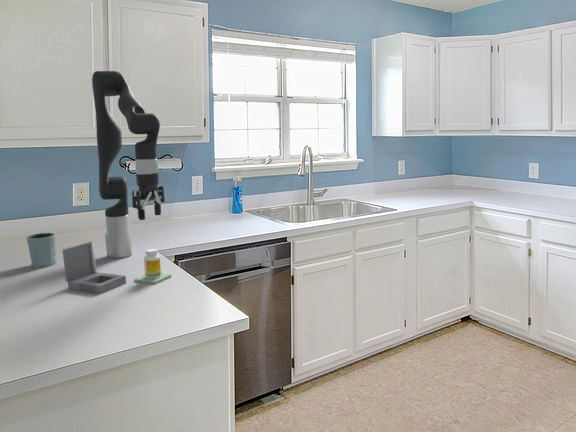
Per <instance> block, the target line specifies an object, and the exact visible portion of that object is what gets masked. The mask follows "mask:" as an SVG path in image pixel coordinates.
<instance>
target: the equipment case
mask: <svg viewBox="0 0 576 432" xmlns="http://www.w3.org/2000/svg"><path fill="white" fill-rule="evenodd" d="M95 255H96V254H95V244H94V243H93V242H92V241H88V242H85V243H81V244H78V245H77V244H76V245H74V246H71V247H68V248H67V247H66V248H64V249H62V256H63V259H62V260H63V267H64V275H65V277H64V278H65V282H67V287H68V290H73V291H78V292H79V291H80V292H87V293H92V294H93V293H94V294H99V295H101V294H104V293H105V292H108V291H111V290H113V289H115V288H117V287H119V286H122V285H125V284H127V278H126V277H127V276H126V275H121V274H113V273H105V272H99V271H98V272H97V266H96V256H95Z"/></svg>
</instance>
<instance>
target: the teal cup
mask: <svg viewBox="0 0 576 432" xmlns="http://www.w3.org/2000/svg"><path fill="white" fill-rule="evenodd" d="M26 242H27V247H28V251H29V255H30V261H31V266H32V268H35V267H36V269H37V268H40V267H42V268H49V267H53V266H54V265H56V263H57V255H56V254H57V253H56V234H55V233H54V232H39V233H33V234H30V235H27V236H26ZM52 265H53V266H52ZM48 266H49V267H48Z"/></svg>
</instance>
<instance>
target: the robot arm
mask: <svg viewBox="0 0 576 432" xmlns="http://www.w3.org/2000/svg"><path fill="white" fill-rule="evenodd" d="M91 83H92V84H91V85H92V87H91V88H92V92H93V100H94V107H95V109H94V110H95V123H96V124H95V126H96V128H95V129H96V145H97V146H96V147H97V156H98V192H99V197H100V198H101V199H102V200H106V201H107V200H108V201H109V200H118V201H117V202H116V203H115V204H114V205H111V206H109V207H107V208H106V209H105V210H104V215H105V225H106V228H105V229H106V233H105V234H104V235H105V237H104V238H105V245H106V246H105V247H106V248H105V249H106V256H107V257H109V258H114V259H119V258H120V259H121V258H127V257H130V256H131V255H133V254H132V252H133V250H132V236H131V227H130V226H131V225H130V215H129V200H128V199H129V198H128V181H127V179H126V178H125V176H123V175H121V176H109V172H110V169H111V166H112V164H113V163H114V161H115V160H116V159H117V156H118V155H119V153H120V152H121V150H122V147H123V141H122V139H123V137H122V136H123V135H122V129H121V127H120V125H119V123H118V122H117V121H116V119H115V118H114V117H113V116H112V114H111V112H110V111H109V109H108V106H107V103H106V97H116V96H117V97H119V98H118V99H117V107H118V109H119V112H120V113H121V114H122V115H123V117H124V118H125V120H126V124H127V128H128V130H129V132H130V133H132V134H133V135H146V138H144V139H143V140H140V141H138V142H135V145H134V153H135V176H136V177H135V178H136V186H138V190H132V191H131V194H132V195H131V196H132V199H131V200H132V208H133V209H137V215H138V216H137V218H138V219H139V221H145V220H146V210H145V207H146V205H147V204H148V202H150V201H152V202H153V204H154V205H153V207H154V215H155V216H161V215H162V207H161V206H162V204H163V203H165V201H166V199H165V190H164V189H165V188H164V186H163V185H160V178H159V164H158V160H157V143H158V142H157V141H158V138H159V137H158V136H159V133H160V128H161V122H160V118H159V117H158V116H157V114H155V113H152V112H151V113H147V112H146V111H145V109H144V106H142V105H141V103H140V102H139V101H138V100H137V98H136V97H135V96H134V93H133V92H132V90H131V88H130V87H129V84H128V82H127V81H126V79H125V77H124V75H123V74H122V73H121V72H120V71H117V70H97V71H94V72H93V73H92V77H91Z"/></svg>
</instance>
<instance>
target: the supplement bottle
mask: <svg viewBox="0 0 576 432" xmlns="http://www.w3.org/2000/svg"><path fill="white" fill-rule="evenodd" d="M143 262H144V265H143V266H144V275H145V277H146V278H158V277H160V276H161V273H162V270H161V257H160V256H159V254H158V249H157V248H150V249H149V248H148V249H145V256H144V258H143Z"/></svg>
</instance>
